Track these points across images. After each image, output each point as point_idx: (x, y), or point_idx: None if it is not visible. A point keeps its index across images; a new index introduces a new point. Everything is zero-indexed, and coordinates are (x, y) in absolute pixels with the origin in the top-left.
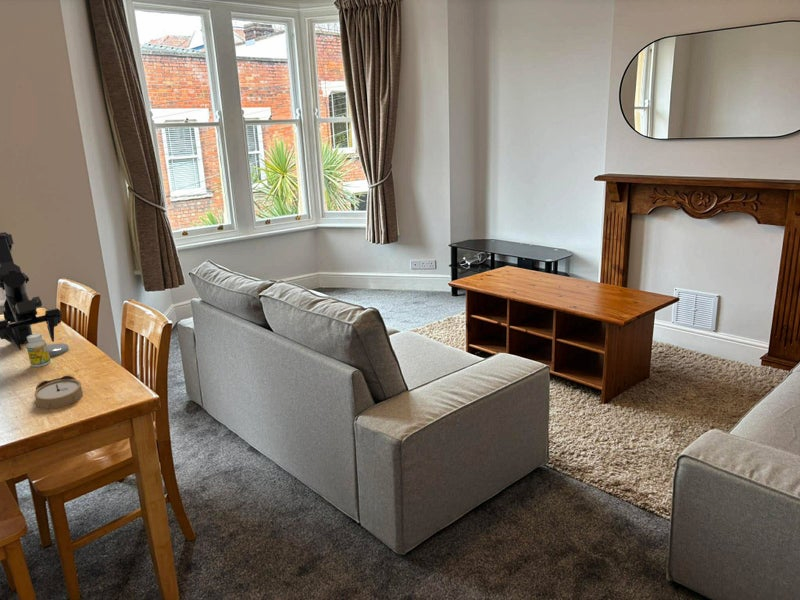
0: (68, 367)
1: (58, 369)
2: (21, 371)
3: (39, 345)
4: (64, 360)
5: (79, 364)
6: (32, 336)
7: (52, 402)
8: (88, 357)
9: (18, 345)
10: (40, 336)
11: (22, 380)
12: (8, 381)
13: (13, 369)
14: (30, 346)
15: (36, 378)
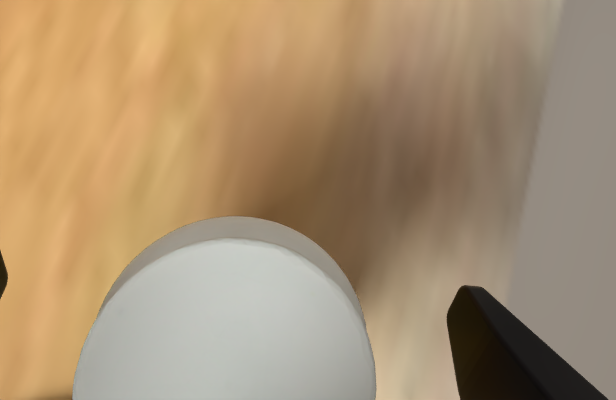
0: (131, 26)
1: (200, 55)
2: (405, 280)
3: (231, 218)
4: (68, 222)
5: (43, 9)
6: (272, 351)
7: None
8: None
9: (506, 315)
10: (140, 269)
11: (451, 78)
12: (523, 148)
13: (437, 396)
14: (339, 270)
15: (374, 27)
